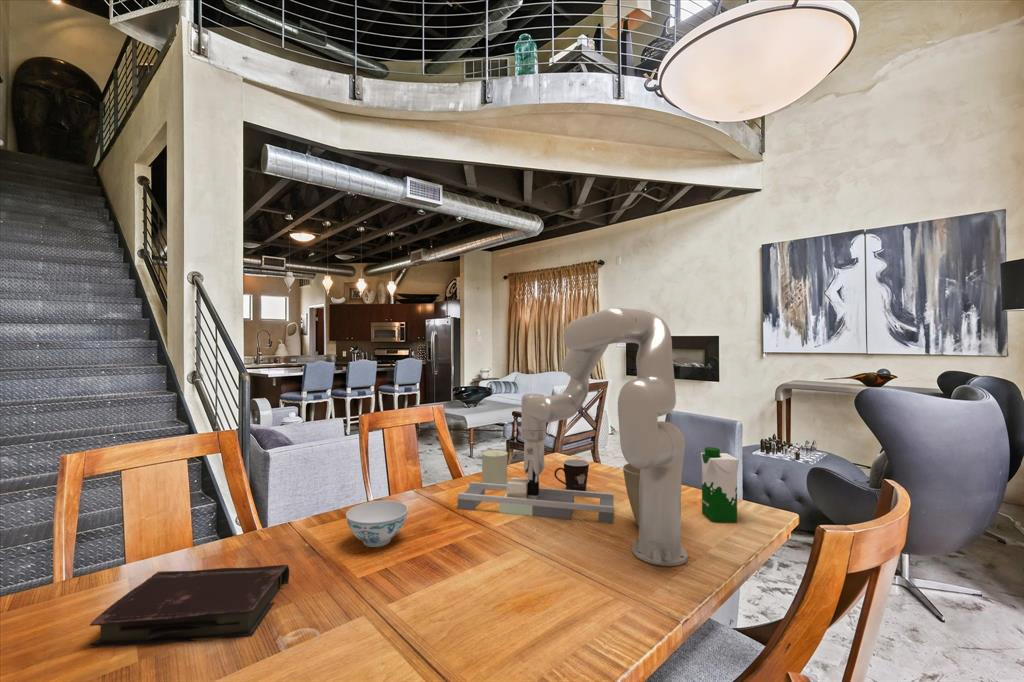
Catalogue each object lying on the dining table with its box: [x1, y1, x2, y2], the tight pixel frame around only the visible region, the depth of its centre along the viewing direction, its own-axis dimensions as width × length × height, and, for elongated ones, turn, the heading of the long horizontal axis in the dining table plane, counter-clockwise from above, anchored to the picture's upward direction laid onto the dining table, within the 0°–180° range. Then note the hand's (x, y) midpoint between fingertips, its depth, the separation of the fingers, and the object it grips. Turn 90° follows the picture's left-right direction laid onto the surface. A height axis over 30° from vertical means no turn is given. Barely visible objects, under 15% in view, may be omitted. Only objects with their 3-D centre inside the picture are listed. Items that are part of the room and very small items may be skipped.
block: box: [506, 477, 530, 499], centre depth 138 cm, size 6×6×5 cm
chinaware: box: [345, 500, 409, 548], centre depth 114 cm, size 15×15×8 cm
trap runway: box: [457, 481, 615, 524], centre depth 137 cm, size 12×46×4 cm, turn 77°
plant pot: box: [622, 462, 641, 527], centre depth 125 cm, size 15×15×16 cm
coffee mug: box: [554, 458, 590, 491], centre depth 153 cm, size 12×9×10 cm
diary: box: [89, 564, 290, 649], centre depth 84 cm, size 19×25×5 cm
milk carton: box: [700, 446, 740, 523], centre depth 131 cm, size 9×9×20 cm
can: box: [481, 449, 509, 491], centre depth 159 cm, size 9×9×12 cm
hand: (533, 494), depth 137 cm, fingers closed
